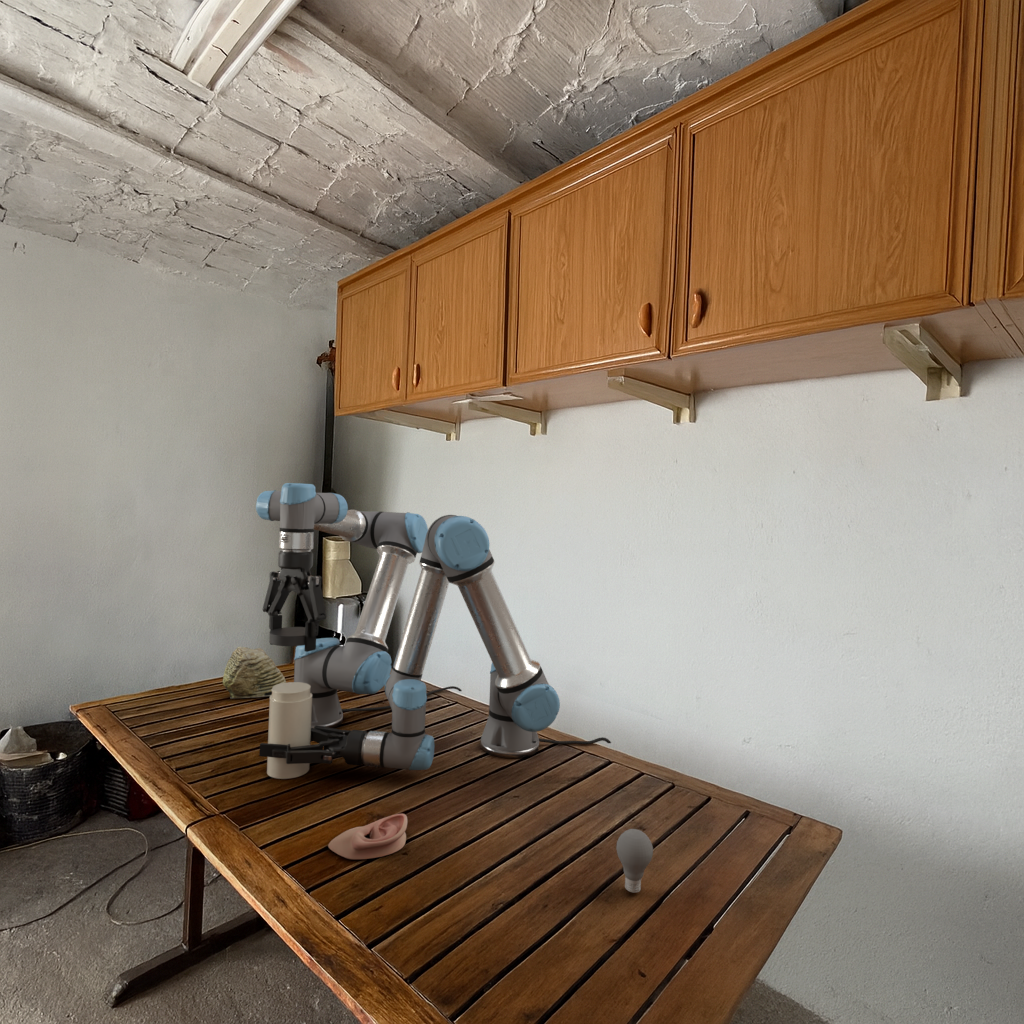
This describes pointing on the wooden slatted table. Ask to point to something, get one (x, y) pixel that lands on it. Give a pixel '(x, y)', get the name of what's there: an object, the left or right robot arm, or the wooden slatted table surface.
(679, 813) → the wooden slatted table surface
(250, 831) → the wooden slatted table surface
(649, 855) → the light bulb
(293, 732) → the jar
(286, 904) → the wooden slatted table surface
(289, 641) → the lid
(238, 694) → the fossil
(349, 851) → the anatomical model
